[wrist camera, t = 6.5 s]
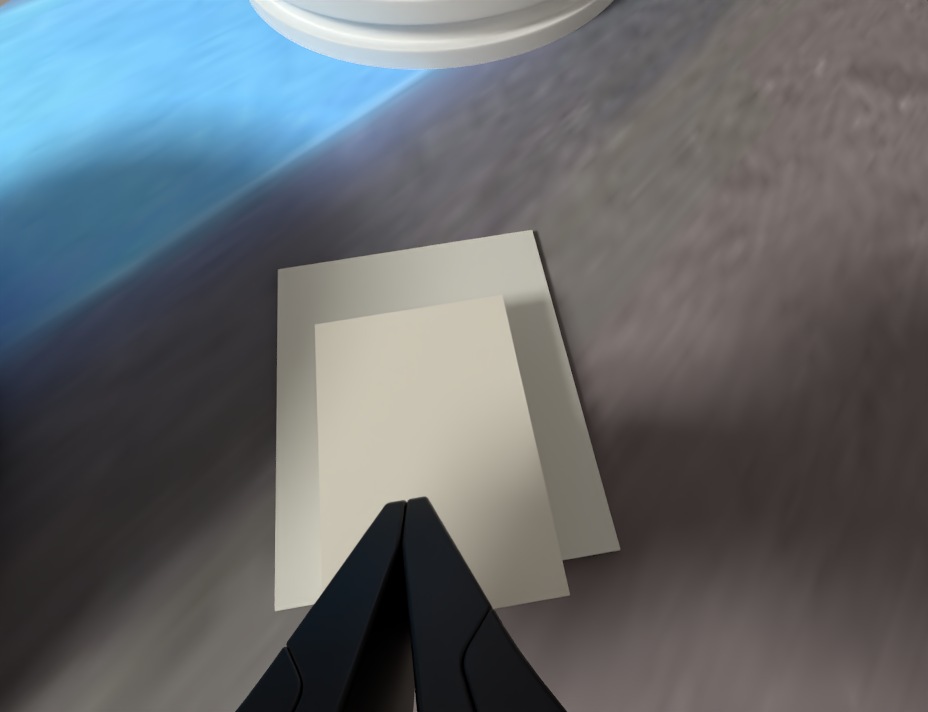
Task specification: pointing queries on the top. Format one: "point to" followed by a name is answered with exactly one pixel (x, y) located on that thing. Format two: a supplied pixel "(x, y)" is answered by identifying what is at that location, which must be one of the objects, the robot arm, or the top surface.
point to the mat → (408, 287)
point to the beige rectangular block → (435, 441)
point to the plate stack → (425, 28)
